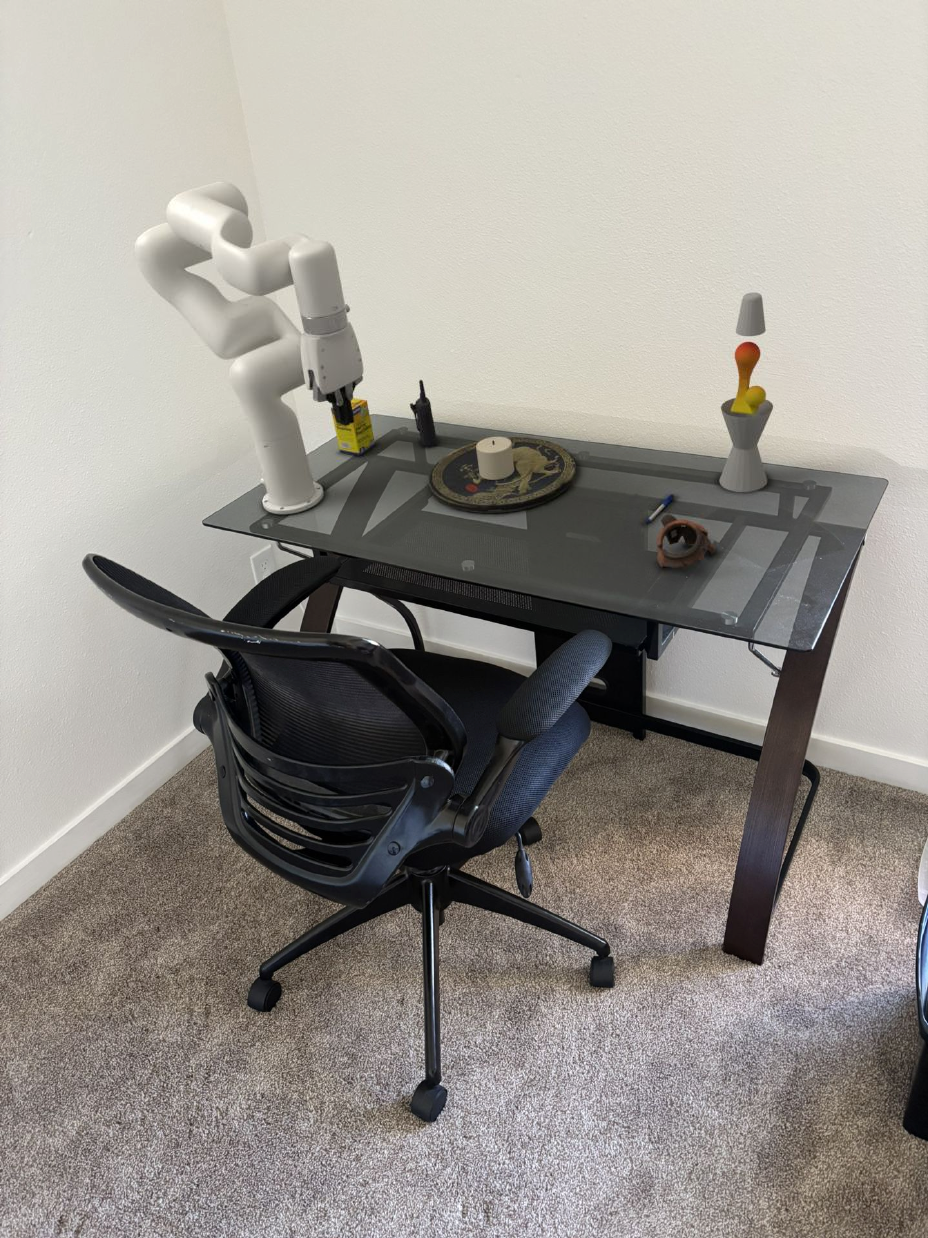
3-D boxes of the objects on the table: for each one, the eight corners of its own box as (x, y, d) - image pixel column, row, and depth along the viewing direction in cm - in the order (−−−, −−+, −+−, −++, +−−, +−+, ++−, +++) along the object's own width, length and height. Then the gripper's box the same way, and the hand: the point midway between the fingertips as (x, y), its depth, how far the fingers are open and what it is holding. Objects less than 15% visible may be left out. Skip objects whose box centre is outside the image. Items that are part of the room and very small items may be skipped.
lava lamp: (711, 487, 177) (716, 301, 157) (728, 466, 183) (735, 284, 162) (758, 495, 172) (770, 305, 152) (775, 473, 178) (788, 287, 158)
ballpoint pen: (669, 496, 176) (669, 492, 176) (674, 497, 176) (674, 492, 175) (645, 523, 170) (645, 519, 169) (650, 524, 169) (650, 520, 169)
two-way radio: (438, 446, 207) (428, 381, 198) (418, 450, 206) (407, 385, 198) (434, 436, 211) (424, 372, 202) (415, 440, 211) (404, 376, 202)
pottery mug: (729, 561, 157) (718, 537, 151) (682, 595, 158) (670, 573, 152) (688, 517, 165) (676, 492, 158) (644, 550, 166) (630, 526, 159)
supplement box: (360, 456, 207) (350, 410, 201) (339, 452, 210) (329, 407, 204) (376, 445, 211) (367, 399, 205) (356, 441, 214) (346, 396, 208)
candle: (472, 474, 190) (468, 443, 186) (496, 460, 193) (492, 429, 189) (497, 483, 185) (493, 451, 181) (521, 468, 189) (518, 437, 185)
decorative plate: (457, 521, 175) (408, 459, 199) (458, 530, 176) (410, 467, 200) (602, 479, 182) (538, 423, 205) (602, 488, 183) (539, 431, 206)
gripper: (343, 303, 163) (361, 402, 174) (276, 332, 154) (300, 434, 165) (372, 309, 158) (389, 410, 169) (305, 340, 150) (328, 444, 161)
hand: (345, 422), depth 167 cm, fingers closed
